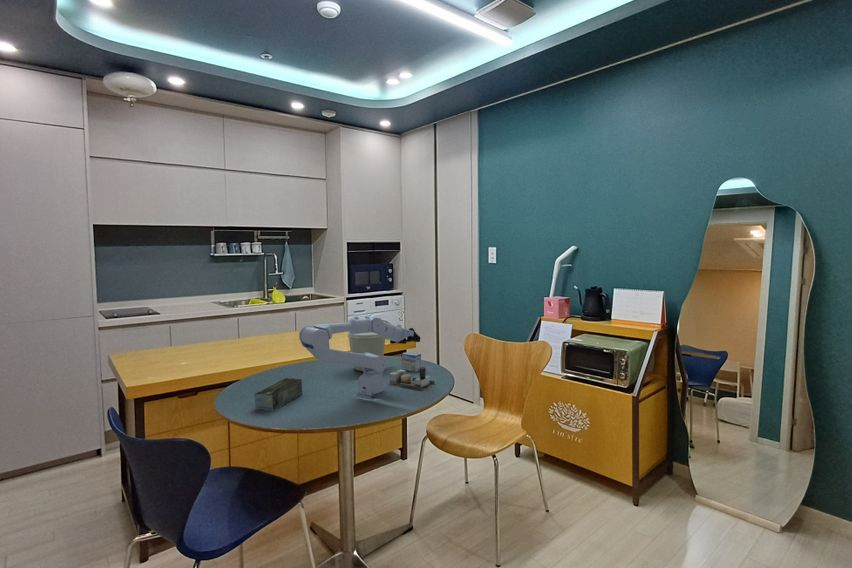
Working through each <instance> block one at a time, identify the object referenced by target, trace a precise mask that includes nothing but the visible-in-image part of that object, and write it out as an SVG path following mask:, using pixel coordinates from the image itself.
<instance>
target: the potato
mask: <svg viewBox="0 0 852 568" xmlns="http://www.w3.org/2000/svg"><path fill="white" fill-rule="evenodd" d="M411 376H412V375H411V374H410V373H409V374H407V373H406V374H404V375H401V383H404V384H411V380H412V377H411Z"/></svg>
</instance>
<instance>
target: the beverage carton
mask: <svg viewBox="0 0 852 568" xmlns="http://www.w3.org/2000/svg"><path fill="white" fill-rule="evenodd" d="M302 382H303V381H302V379H301V378H288V377H287V378H286V377H284V378H283V379H280V380H279V381H277V382H275V383H273V384H272V385H269V386H268V387H266V388H264V389H262V390H260V391H258V392H256V393H254V407H255V410H258V409H264V410H263V411H267V410H274V411H276V410H277V408H278V409H280V408H281V407H283V406H285V405H287V404H288V403H289V401H290V402H291V401H293V400H294V399H296V398H298V397H299V396H301V395H303V384H302ZM292 399H293V400H292ZM287 402H288V403H287ZM284 404H285V405H284ZM282 405H283V406H282ZM280 406H281V407H280ZM275 409H276V410H275Z"/></svg>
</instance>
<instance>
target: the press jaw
mask: <svg viewBox="0 0 852 568" xmlns="http://www.w3.org/2000/svg"><path fill="white" fill-rule="evenodd" d="M419 369H420V370H419V377H416V378H417V379H415V386H420V387H422V388H423V387H425V386H427V385H429V384H431V378H432V377H431V376H430V375H426V374H427V372H426V371H427V369H426V367H425V366H421V367H420V368H419Z"/></svg>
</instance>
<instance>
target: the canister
mask: <svg viewBox="0 0 852 568" xmlns="http://www.w3.org/2000/svg"><path fill="white" fill-rule="evenodd" d="M346 336H347V337H348V342H349V347H350V352H352V353H358V354H359V353H360V354H363V353H365V352H369V353H371V354H375V355H379V356H383V357H385V356H384V354H385V345H386V344H385V343H386V339H385V337H383V336H380V335H378V334H376V333H373V332H368V333H361V334H351V333H350V332H347V335H346ZM353 368H354V369H355V371H358V372H364V371H363V368H362V367H360V366H353Z"/></svg>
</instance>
